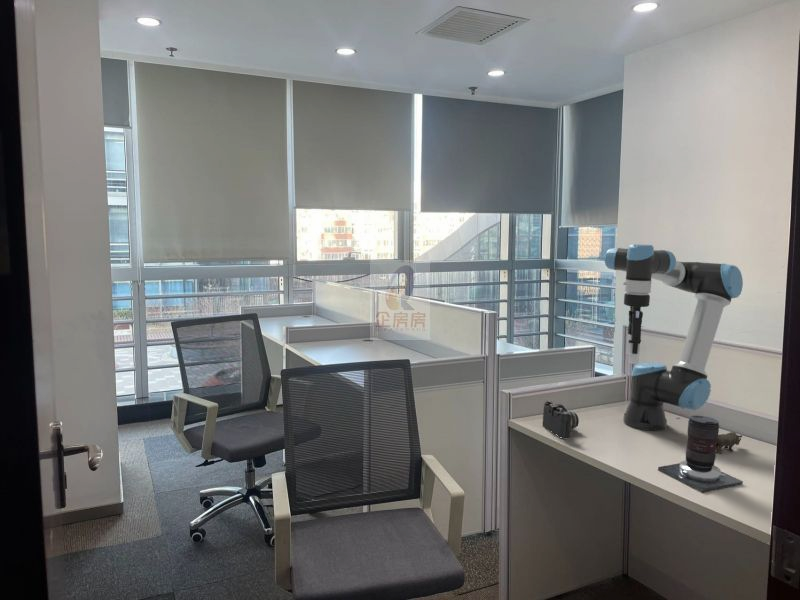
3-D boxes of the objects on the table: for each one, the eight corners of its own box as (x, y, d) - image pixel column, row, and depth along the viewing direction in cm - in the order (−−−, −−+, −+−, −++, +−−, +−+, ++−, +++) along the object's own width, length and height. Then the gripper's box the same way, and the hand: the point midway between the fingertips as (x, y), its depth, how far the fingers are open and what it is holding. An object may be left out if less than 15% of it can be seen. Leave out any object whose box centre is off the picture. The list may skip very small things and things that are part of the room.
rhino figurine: (746, 448, 198) (748, 431, 198) (720, 455, 192) (722, 437, 192) (735, 444, 202) (736, 427, 201) (709, 450, 196) (710, 433, 195)
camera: (587, 437, 206) (589, 409, 205) (560, 439, 203) (562, 412, 202) (564, 423, 220) (565, 397, 218) (538, 426, 216) (540, 400, 215)
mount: (696, 463, 185) (697, 454, 185) (742, 484, 170) (743, 474, 170) (657, 470, 179) (658, 460, 179) (702, 492, 164) (703, 482, 164)
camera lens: (721, 472, 172) (726, 422, 170) (697, 474, 170) (702, 424, 168) (701, 460, 179) (705, 413, 177) (678, 462, 177) (682, 415, 175)
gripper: (622, 288, 198) (618, 349, 201) (626, 297, 174) (621, 366, 177) (646, 289, 196) (641, 351, 198) (653, 298, 172) (648, 368, 175)
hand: (632, 359), depth 188 cm, fingers open, 13 cm apart
